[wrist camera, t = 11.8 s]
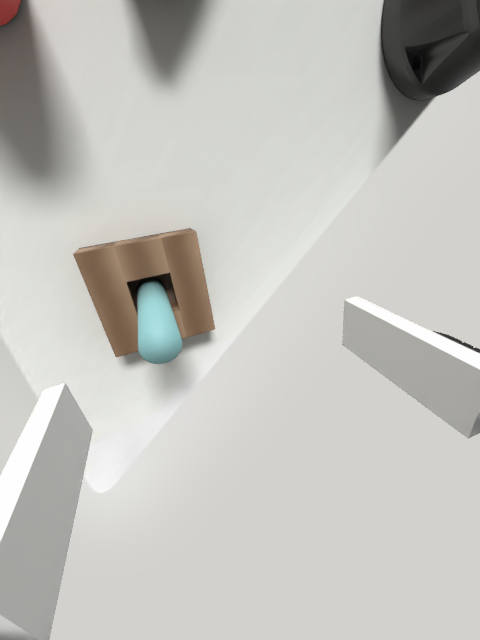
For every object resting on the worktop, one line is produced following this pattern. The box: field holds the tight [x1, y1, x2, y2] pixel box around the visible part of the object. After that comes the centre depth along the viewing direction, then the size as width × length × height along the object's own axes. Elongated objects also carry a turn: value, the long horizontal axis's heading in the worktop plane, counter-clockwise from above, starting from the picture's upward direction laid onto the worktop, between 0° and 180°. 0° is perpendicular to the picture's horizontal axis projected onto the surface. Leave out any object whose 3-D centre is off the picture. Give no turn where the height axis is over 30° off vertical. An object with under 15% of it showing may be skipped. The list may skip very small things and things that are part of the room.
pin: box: [137, 277, 182, 364], centre depth 26 cm, size 3×3×14 cm
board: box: [73, 228, 215, 357], centre depth 31 cm, size 12×12×4 cm
